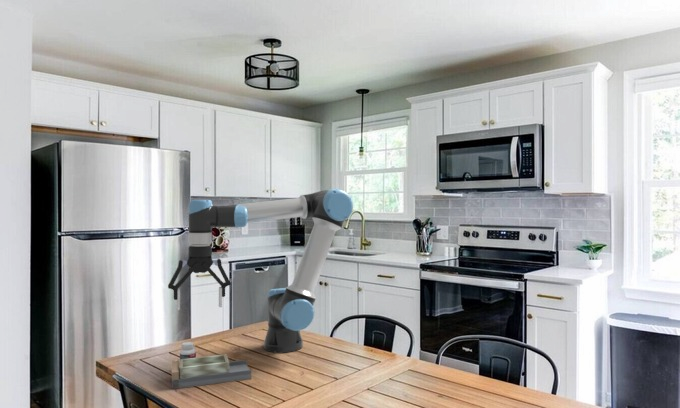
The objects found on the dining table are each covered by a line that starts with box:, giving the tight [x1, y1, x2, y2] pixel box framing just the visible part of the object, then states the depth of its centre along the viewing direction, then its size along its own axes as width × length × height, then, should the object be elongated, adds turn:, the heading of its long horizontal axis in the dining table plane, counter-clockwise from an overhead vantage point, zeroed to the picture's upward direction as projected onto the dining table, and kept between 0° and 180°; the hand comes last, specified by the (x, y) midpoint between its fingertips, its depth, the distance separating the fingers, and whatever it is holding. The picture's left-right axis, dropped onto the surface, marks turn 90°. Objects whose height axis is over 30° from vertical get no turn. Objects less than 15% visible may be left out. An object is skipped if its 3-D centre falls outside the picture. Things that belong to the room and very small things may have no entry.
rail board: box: [171, 359, 252, 390], centre depth 152 cm, size 24×11×5 cm, turn 109°
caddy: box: [179, 353, 230, 379], centre depth 152 cm, size 15×9×4 cm, turn 109°
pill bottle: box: [179, 341, 197, 360], centre depth 160 cm, size 5×5×9 cm
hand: (199, 308), depth 159 cm, fingers open, 13 cm apart
